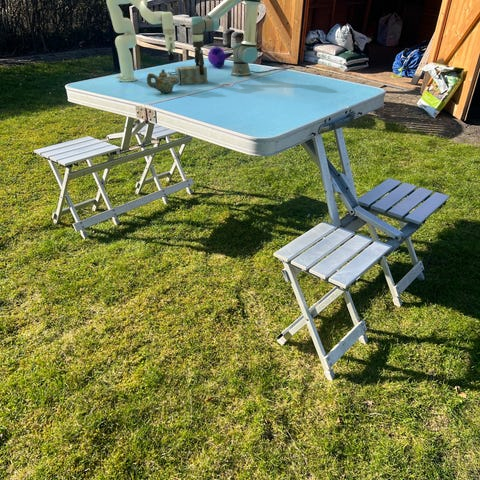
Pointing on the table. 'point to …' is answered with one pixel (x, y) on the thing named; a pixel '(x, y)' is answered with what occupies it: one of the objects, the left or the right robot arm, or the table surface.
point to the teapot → (162, 81)
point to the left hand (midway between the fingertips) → (171, 60)
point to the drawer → (176, 74)
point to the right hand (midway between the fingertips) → (200, 73)
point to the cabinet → (192, 75)
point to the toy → (218, 56)
